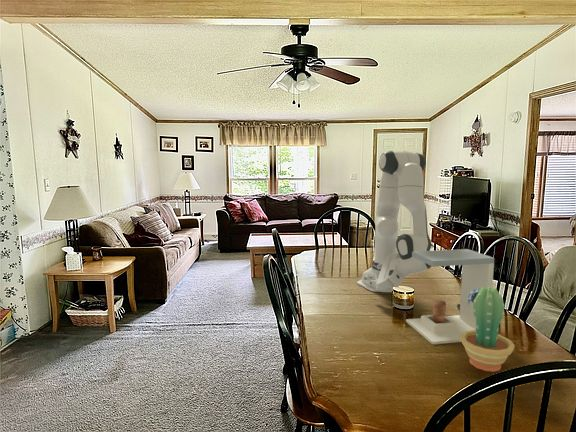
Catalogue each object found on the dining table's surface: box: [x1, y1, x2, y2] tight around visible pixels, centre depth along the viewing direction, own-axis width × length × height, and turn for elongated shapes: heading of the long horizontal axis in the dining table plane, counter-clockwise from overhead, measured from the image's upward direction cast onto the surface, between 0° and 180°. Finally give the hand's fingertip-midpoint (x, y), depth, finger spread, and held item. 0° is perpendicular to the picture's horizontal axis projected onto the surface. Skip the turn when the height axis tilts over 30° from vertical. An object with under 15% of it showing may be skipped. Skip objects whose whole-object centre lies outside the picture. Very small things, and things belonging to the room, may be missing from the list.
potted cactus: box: [460, 286, 516, 372], centre depth 117 cm, size 15×15×25 cm
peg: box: [432, 299, 447, 324], centre depth 143 cm, size 4×4×10 cm
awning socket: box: [405, 248, 495, 345], centre depth 141 cm, size 20×24×30 cm
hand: (375, 274), depth 180 cm, fingers open, 8 cm apart
